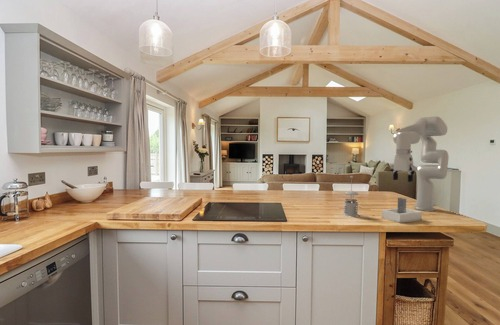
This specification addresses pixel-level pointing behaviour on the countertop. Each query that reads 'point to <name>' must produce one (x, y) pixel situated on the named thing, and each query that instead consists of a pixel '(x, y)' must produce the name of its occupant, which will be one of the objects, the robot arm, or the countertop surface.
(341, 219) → the countertop surface
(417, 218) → the grey shallow tray
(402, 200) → the steel bracket
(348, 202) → the french press
